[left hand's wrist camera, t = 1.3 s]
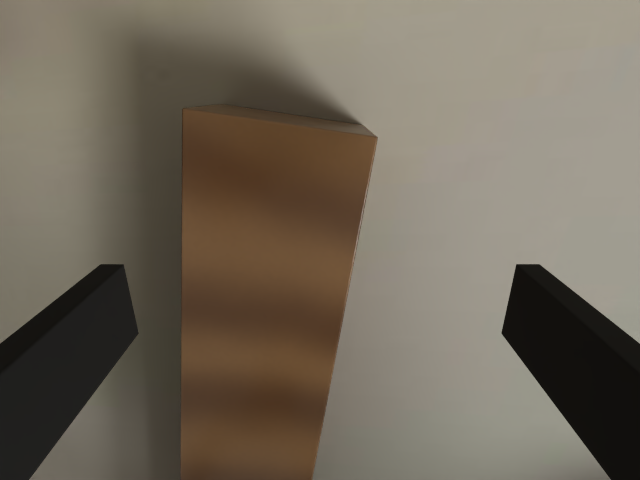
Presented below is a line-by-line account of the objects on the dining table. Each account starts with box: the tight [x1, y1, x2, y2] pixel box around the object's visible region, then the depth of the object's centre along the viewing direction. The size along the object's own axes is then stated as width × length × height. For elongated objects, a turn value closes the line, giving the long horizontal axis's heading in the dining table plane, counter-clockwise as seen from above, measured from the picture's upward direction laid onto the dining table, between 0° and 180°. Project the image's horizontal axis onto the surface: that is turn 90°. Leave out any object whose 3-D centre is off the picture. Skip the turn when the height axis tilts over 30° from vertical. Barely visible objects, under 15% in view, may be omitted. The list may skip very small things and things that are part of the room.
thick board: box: [180, 104, 378, 480], centre depth 30 cm, size 50×9×7 cm, turn 172°
